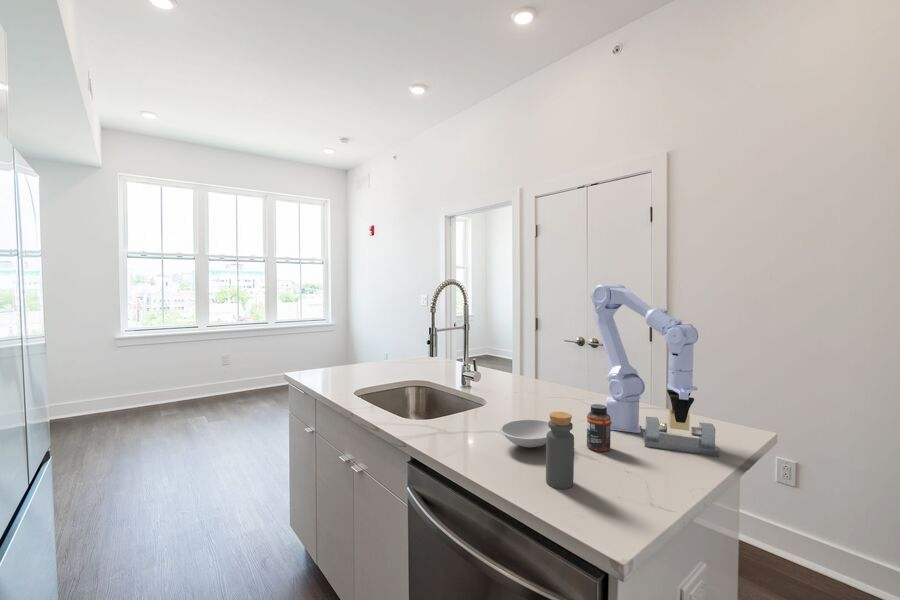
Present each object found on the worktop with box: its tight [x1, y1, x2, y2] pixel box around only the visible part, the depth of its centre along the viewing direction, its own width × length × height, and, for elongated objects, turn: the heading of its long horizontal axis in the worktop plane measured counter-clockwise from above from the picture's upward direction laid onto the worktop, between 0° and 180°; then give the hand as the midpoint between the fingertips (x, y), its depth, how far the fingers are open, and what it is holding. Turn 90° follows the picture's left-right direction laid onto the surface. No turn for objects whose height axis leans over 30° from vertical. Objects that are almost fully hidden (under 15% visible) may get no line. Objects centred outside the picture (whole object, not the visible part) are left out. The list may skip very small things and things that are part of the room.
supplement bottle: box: [586, 403, 611, 453], centre depth 111 cm, size 6×6×11 cm
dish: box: [498, 418, 551, 449], centre depth 112 cm, size 18×14×5 cm
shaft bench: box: [642, 416, 720, 457], centre depth 113 cm, size 17×8×6 cm, turn 68°
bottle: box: [545, 411, 575, 490], centre depth 91 cm, size 6×6×15 cm
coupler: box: [668, 409, 691, 431], centre depth 112 cm, size 4×4×4 cm
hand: (679, 419), depth 112 cm, fingers closed on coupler, 4 cm apart
